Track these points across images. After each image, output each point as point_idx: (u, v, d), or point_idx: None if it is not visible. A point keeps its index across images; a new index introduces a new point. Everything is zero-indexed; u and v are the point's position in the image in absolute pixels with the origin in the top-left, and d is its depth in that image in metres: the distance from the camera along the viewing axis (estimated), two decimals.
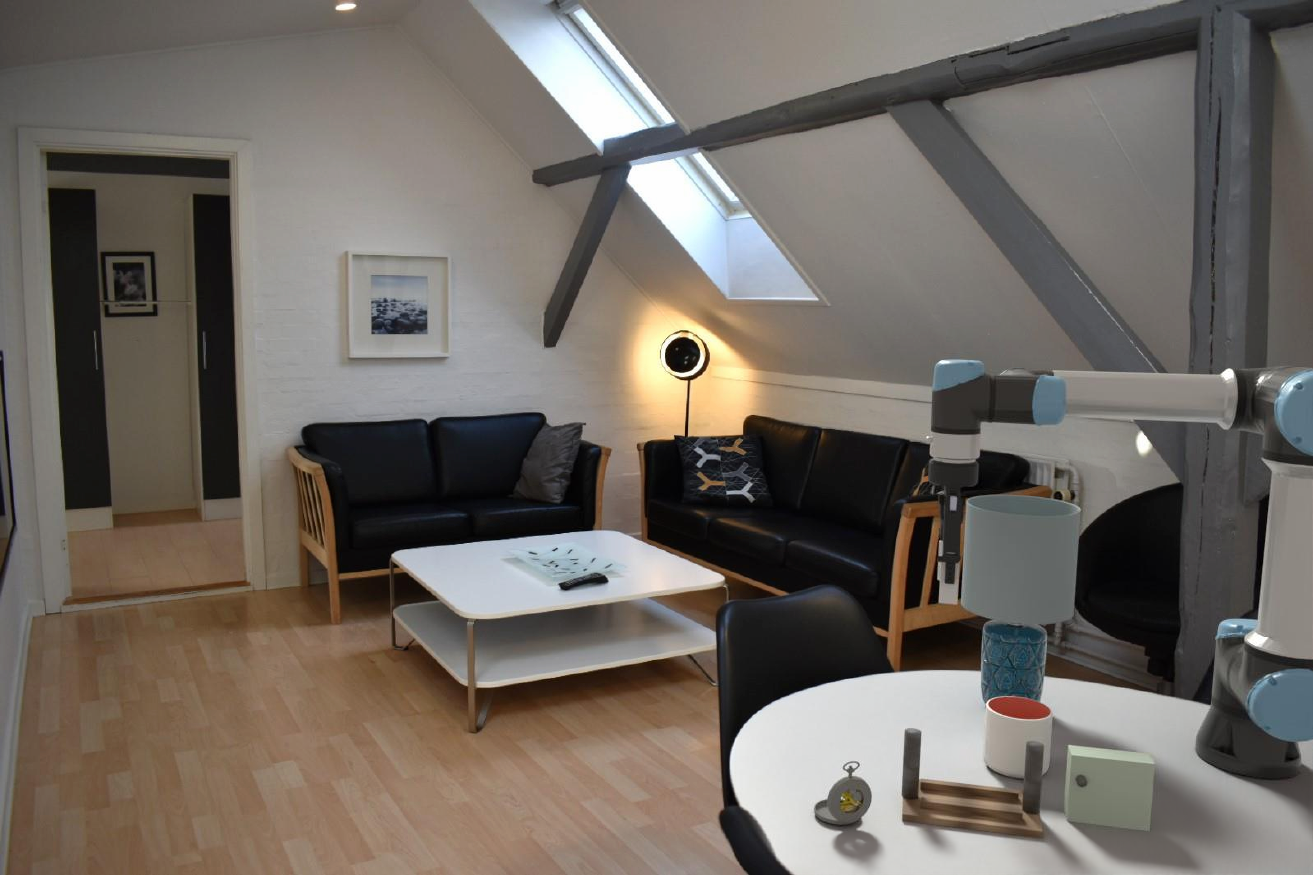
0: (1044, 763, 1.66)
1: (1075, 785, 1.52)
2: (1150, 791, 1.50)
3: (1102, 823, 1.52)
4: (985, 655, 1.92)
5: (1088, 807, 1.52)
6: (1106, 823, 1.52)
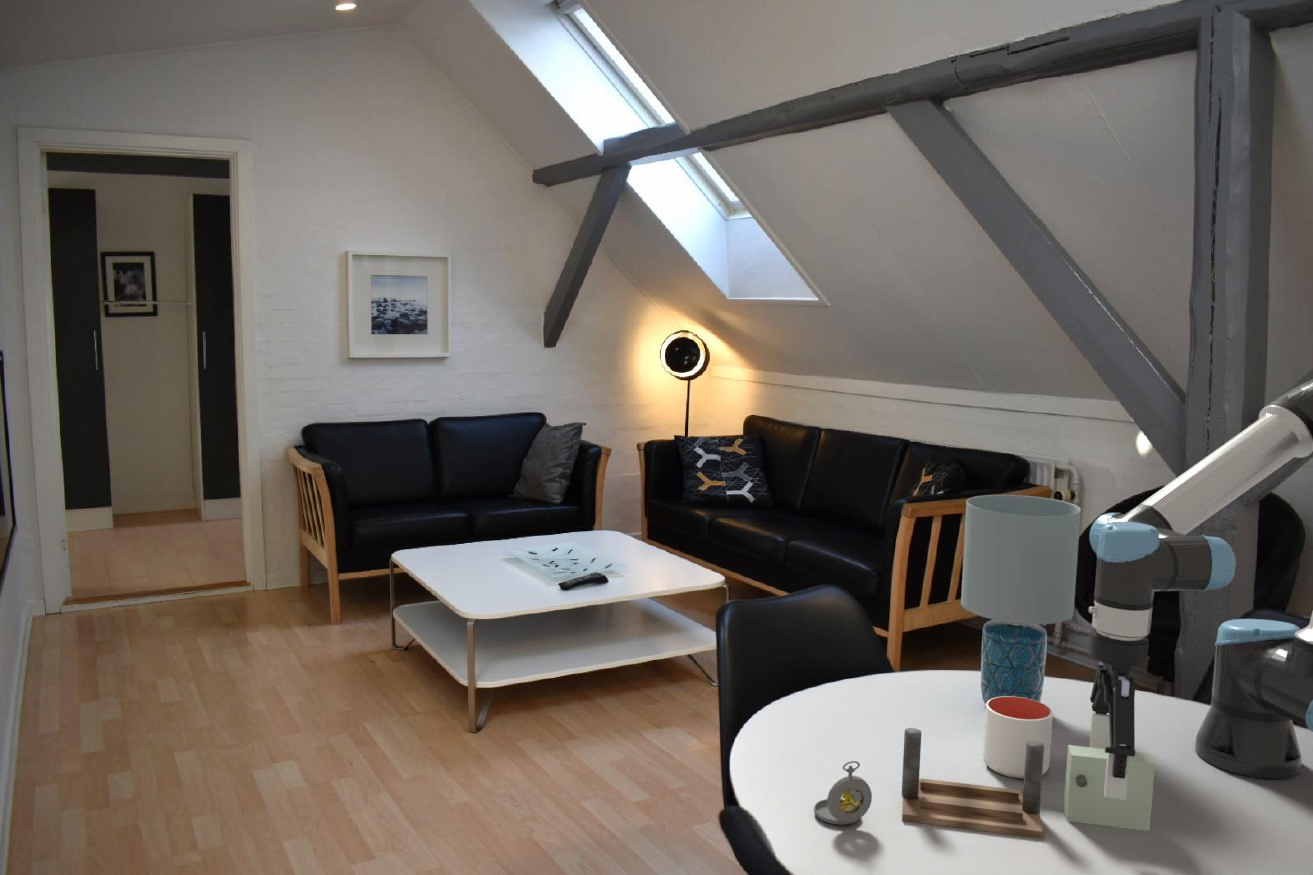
0: (1044, 764, 1.66)
1: (1075, 785, 1.52)
2: (1150, 791, 1.50)
3: (1102, 823, 1.52)
4: (985, 655, 1.92)
5: (1088, 807, 1.52)
6: (1106, 823, 1.52)
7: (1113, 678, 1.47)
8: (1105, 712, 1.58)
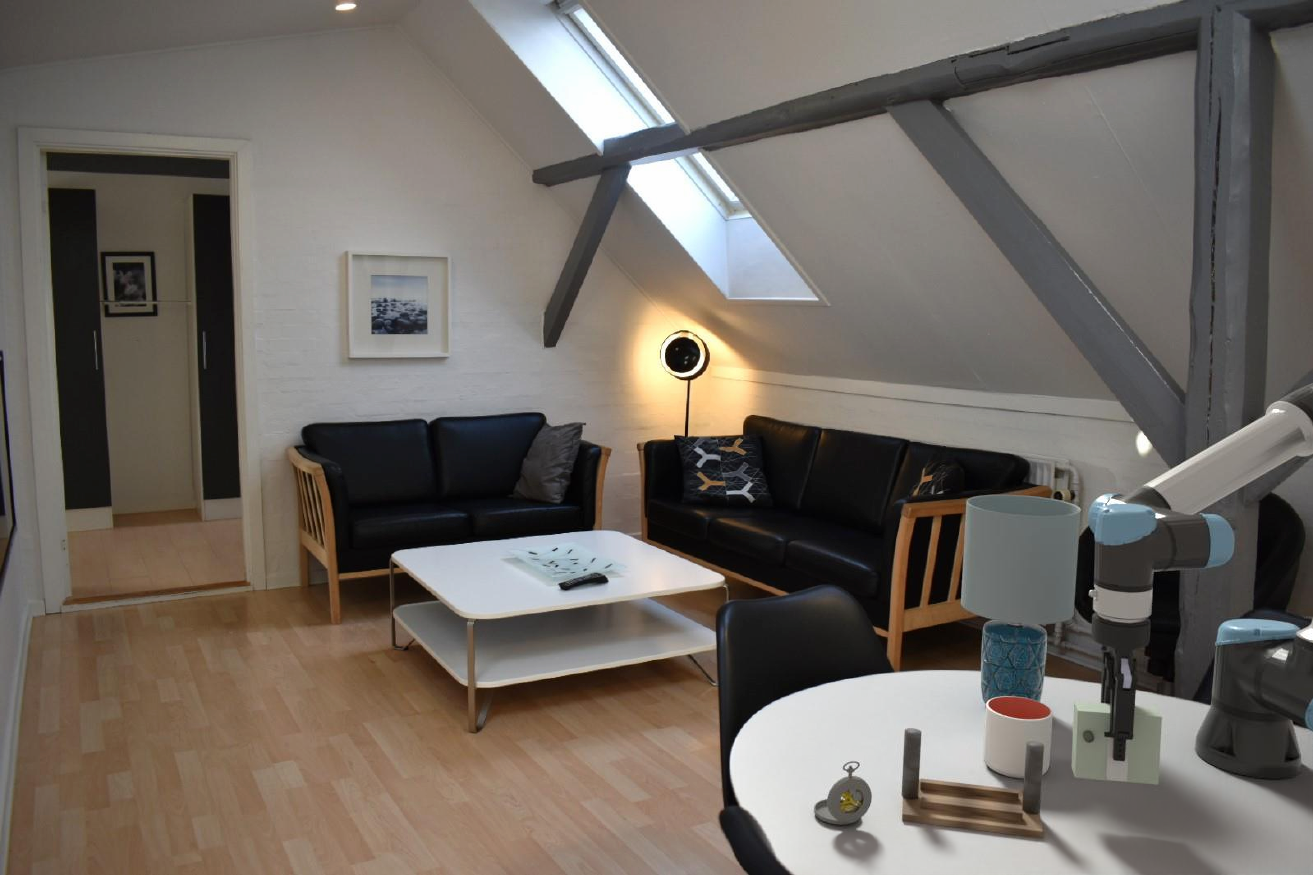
0: (1044, 763, 1.66)
1: (1082, 741, 1.51)
2: (1157, 745, 1.49)
3: None
4: (985, 655, 1.92)
5: (1096, 763, 1.51)
6: None
7: (1116, 664, 1.46)
8: None
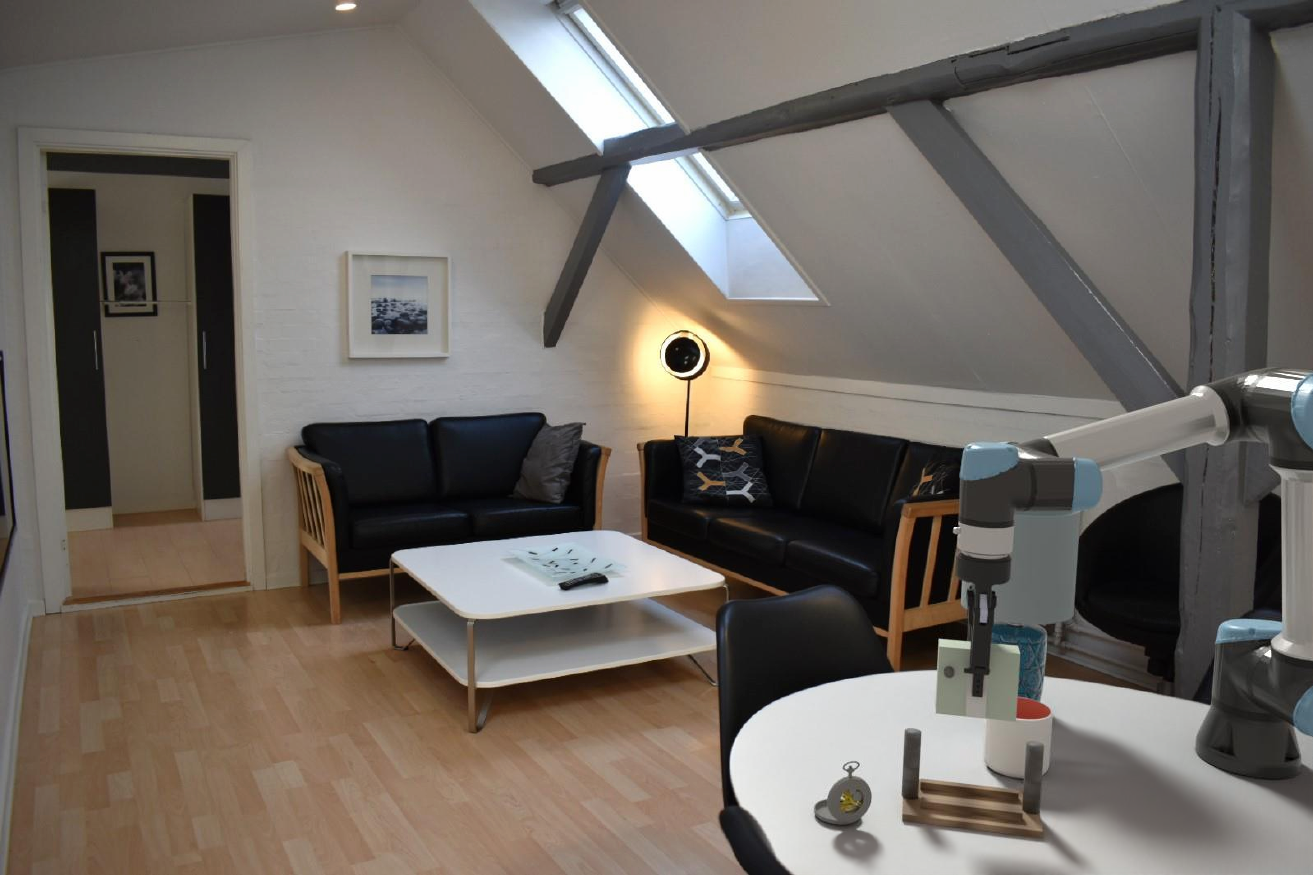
0: (1044, 763, 1.66)
1: (943, 677, 1.52)
2: (1015, 682, 1.50)
3: None
4: None
5: (956, 699, 1.52)
6: None
7: (975, 599, 1.48)
8: None
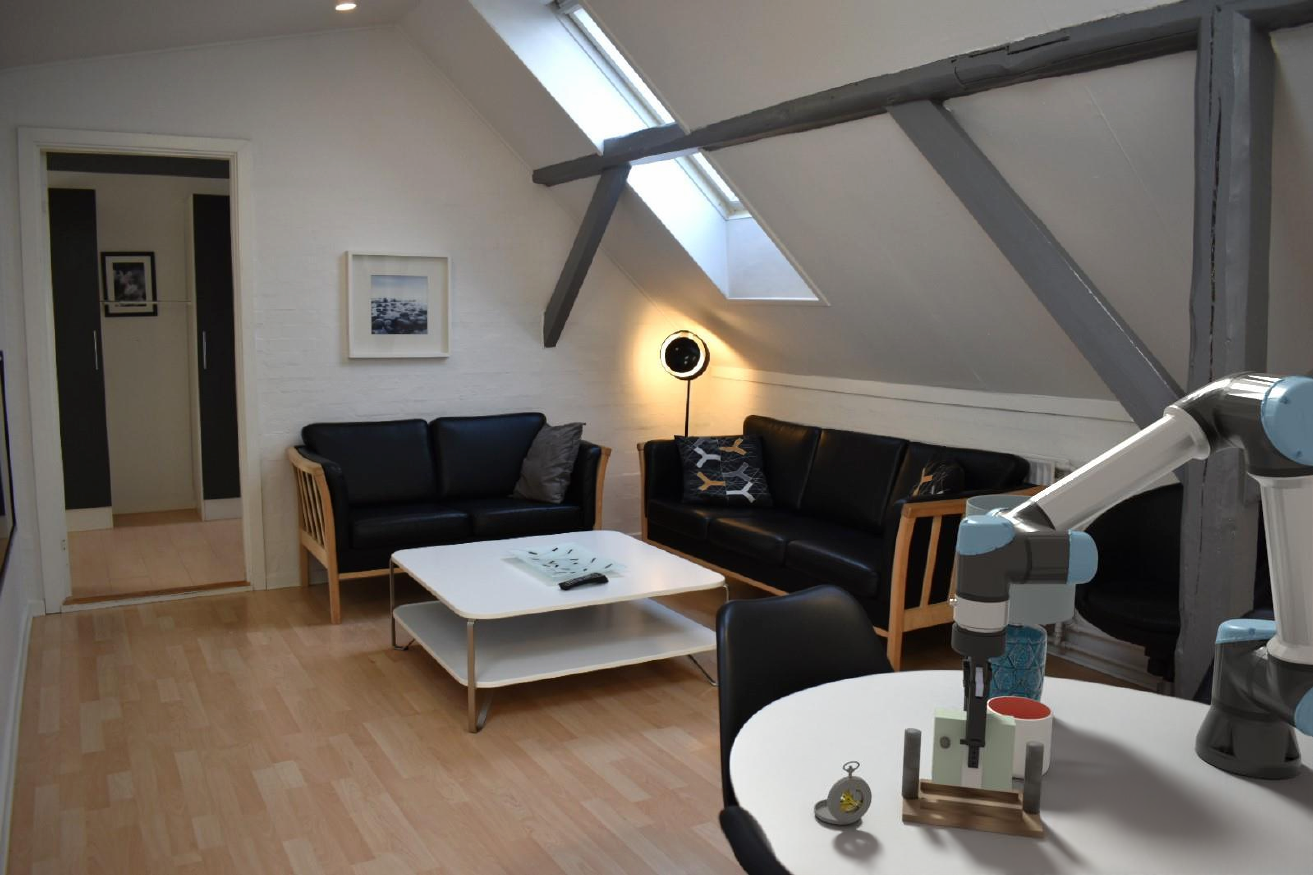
0: (1044, 764, 1.66)
1: (939, 747, 1.54)
2: (1011, 753, 1.51)
3: None
4: None
5: (952, 769, 1.54)
6: None
7: (971, 672, 1.49)
8: None
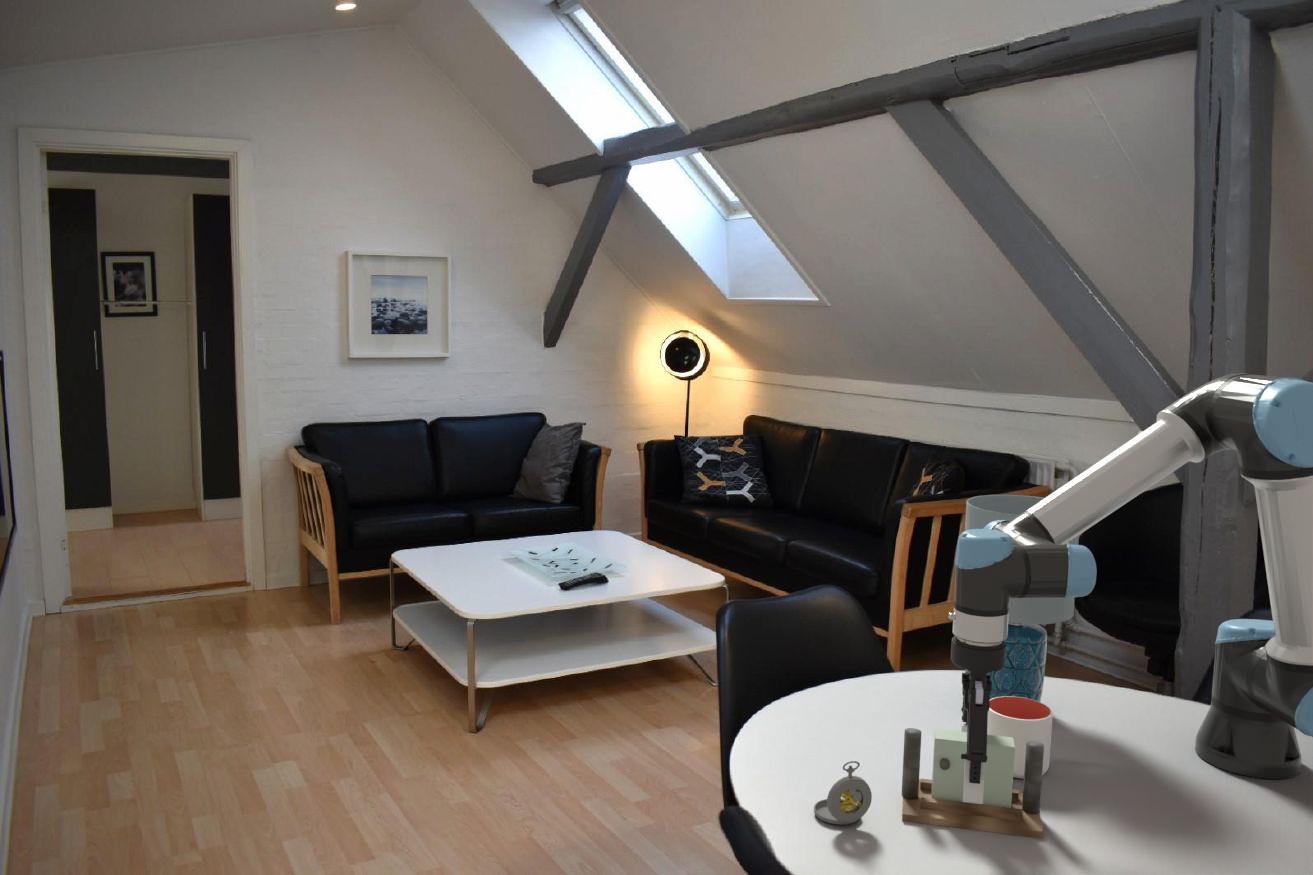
0: (1044, 763, 1.66)
1: (939, 768, 1.54)
2: (1010, 774, 1.52)
3: None
4: None
5: (951, 790, 1.54)
6: None
7: (970, 684, 1.49)
8: None
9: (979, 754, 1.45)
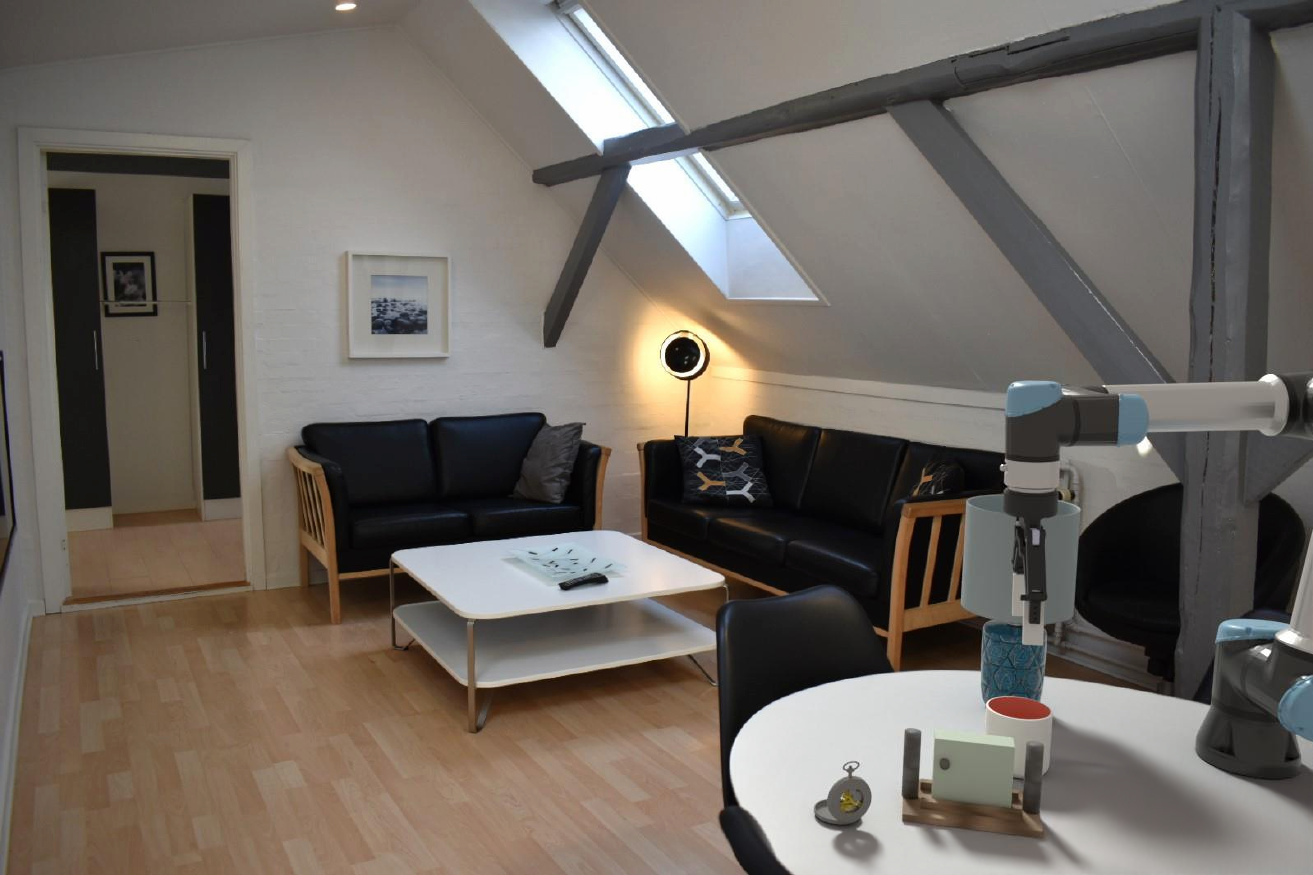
0: (1044, 764, 1.66)
1: (939, 768, 1.54)
2: (1010, 774, 1.52)
3: None
4: (985, 655, 1.92)
5: (951, 790, 1.54)
6: None
7: (1025, 530, 1.52)
8: None
9: (1039, 593, 1.46)
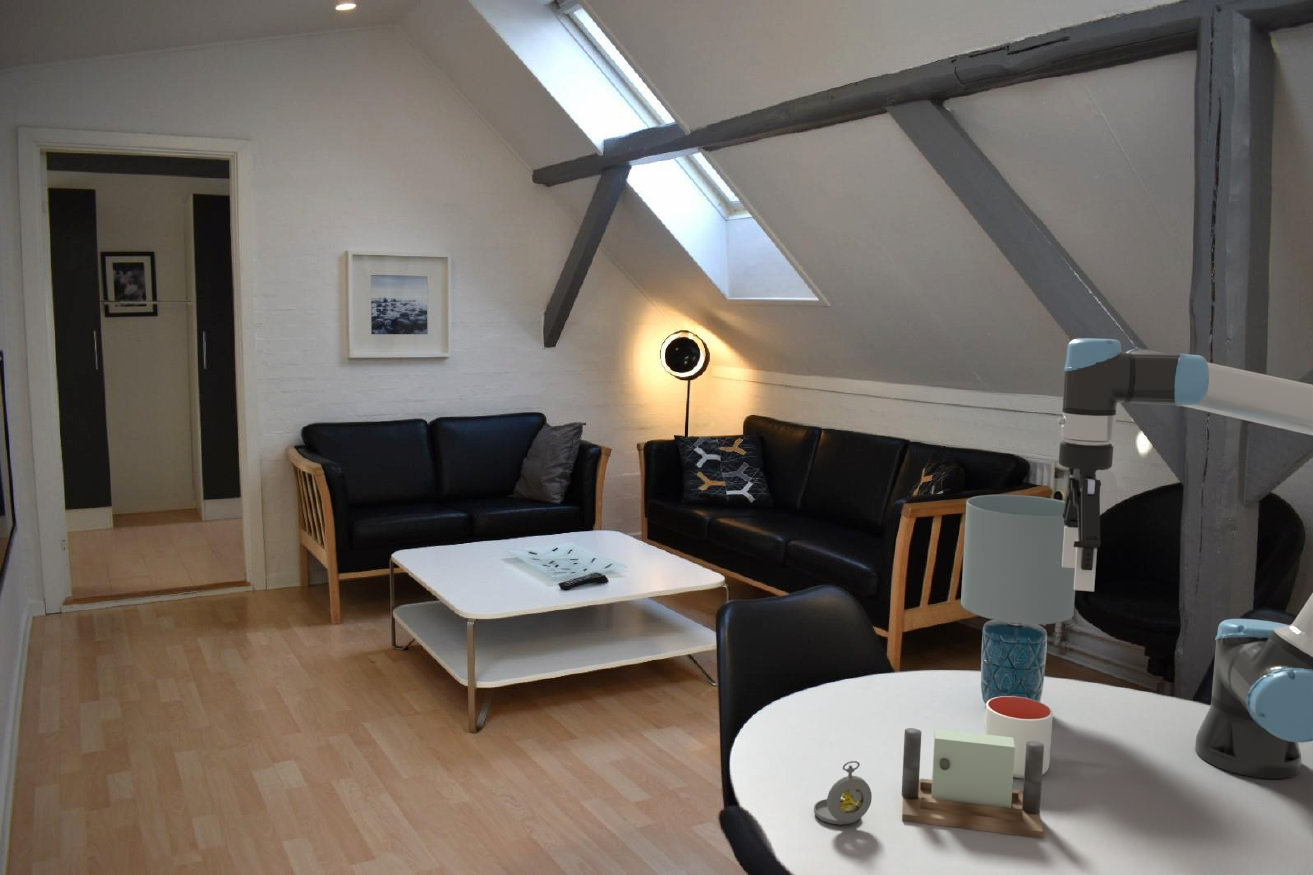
0: (1044, 763, 1.66)
1: (939, 768, 1.54)
2: (1010, 774, 1.52)
3: None
4: (985, 655, 1.92)
5: (951, 790, 1.54)
6: None
7: (1080, 481, 1.58)
8: (1076, 525, 1.69)
9: (1093, 539, 1.53)
